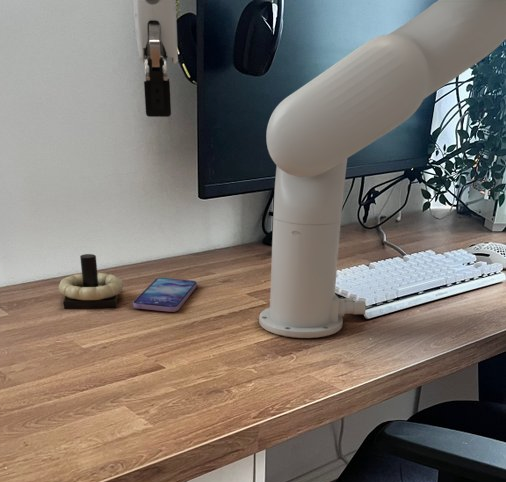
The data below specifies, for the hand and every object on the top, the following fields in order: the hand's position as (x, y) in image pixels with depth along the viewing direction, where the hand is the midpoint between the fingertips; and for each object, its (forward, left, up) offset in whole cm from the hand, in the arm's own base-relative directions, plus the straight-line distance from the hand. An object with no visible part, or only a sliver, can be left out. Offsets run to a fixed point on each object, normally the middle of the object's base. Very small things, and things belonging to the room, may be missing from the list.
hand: (158, 113), depth 93 cm
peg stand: (+12, -7, -28) cm, 31 cm away
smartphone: (0, -8, -28) cm, 29 cm away
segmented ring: (+12, -7, -26) cm, 29 cm away
